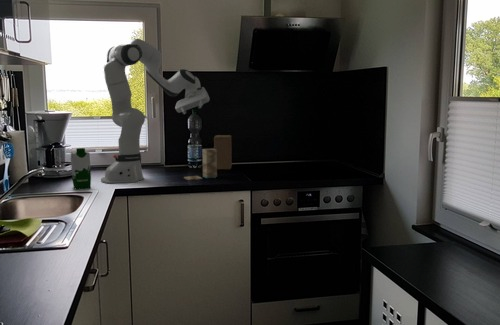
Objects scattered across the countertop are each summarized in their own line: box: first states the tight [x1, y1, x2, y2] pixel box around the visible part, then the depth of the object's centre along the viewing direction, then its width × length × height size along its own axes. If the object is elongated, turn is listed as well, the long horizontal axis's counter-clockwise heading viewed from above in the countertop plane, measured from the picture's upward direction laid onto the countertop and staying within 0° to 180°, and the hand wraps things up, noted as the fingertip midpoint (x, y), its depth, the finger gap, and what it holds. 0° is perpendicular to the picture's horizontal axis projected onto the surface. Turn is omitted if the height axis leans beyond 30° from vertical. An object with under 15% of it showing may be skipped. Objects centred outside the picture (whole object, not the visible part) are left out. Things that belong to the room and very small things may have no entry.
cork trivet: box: [183, 175, 204, 181], centre depth 269 cm, size 8×8×1 cm
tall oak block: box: [201, 148, 218, 179], centre depth 272 cm, size 6×6×16 cm
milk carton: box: [70, 147, 92, 190], centre depth 244 cm, size 9×9×20 cm
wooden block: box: [213, 134, 233, 170], centre depth 301 cm, size 10×10×20 cm
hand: (191, 110), depth 273 cm, fingers open, 8 cm apart
